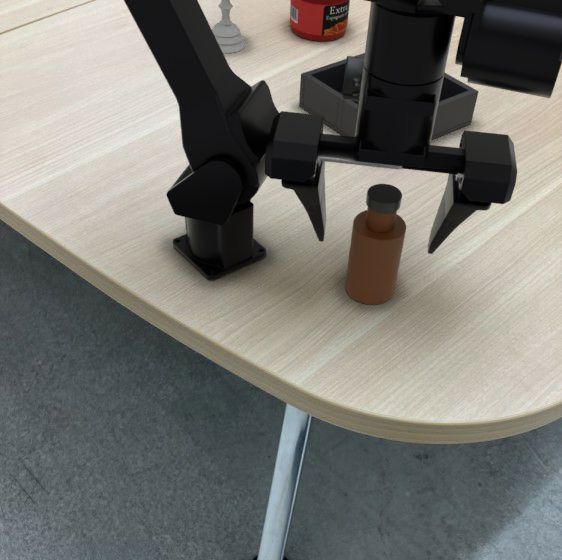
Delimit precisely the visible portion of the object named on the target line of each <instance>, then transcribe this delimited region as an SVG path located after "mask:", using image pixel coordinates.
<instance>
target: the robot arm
mask: <svg viewBox="0 0 562 560" xmlns="http://www.w3.org/2000/svg"><path fill="white" fill-rule="evenodd" d="M364 1H366V2H370V9H369V18H368V25H367V33H366V40H365V41H366V42H365V49H364V53H365V57H355V56H356V55H354V56H353V55H346V58H345V59H346V67H345V75H344V84H343V92H342V98H343V99H345V100H354V101H359V102H358V110H357V118H356V131H355V137H351V136H342V135H341V134H331V133H324V126H325V125H324V124H325V123H324V116H323V115H314V114H310V113H302V112H294V111H286V110H285V111H284V110H280V112H279V110H278V109H277V107H276V105H275V103H274V102H275V101H274V99H273V96H272V93H271V89H270V87H269V85H268V84H267V81H266V80H264V79H262V80H259V81H258V82H256V83H254V84H253V85H251V84H249V83H247V82H246V81H245V80H243V79H242V78H241V77H240V76H239V75H237V74H236V73H235V72H234V71H233V70H232V68H231V66H230V65H229V62H228V61H227V58H226V56H225V53H223V52H222V50H221V48H220V46H219V44H218V42H217V40H216V38H215V36H214V34H213V32H212V28H211V27H212V26H211V25H210V23H209V21H208V19H207V17H206V14H205V13H204V11H203V8H202V6H201V5H200V2H199V1H198V0H123V2H124V4H125V6H126V7H127V10H128V12H129V13H130V16H131V17H132V18H133V21H134V22H135V24H136V26H137V28H138V30H139V32H140V34H141V36H142V37H143V40H144V42H145V43H146V46H147V47H148V49H149V51H150V53H151V54H152V56H153V58H154V60H155V61H156V64H157V65H158V67H159V69H160V72H161V73H162V75H163V77H164V79H165V81H166V82H167V84H168V86H169V89H170V90H171V93H172V94H173V95H174V97H175V100H176V103H177V104H178V105H177V106H178V113H179V123H180V133H181V145H182V149H183V152H184V154H185V157H186V159H187V162H188V165H187V166H186V167H185V169H184V170H183V171H182V173H180V175H179V176H178V178H177V179H176V180H175V181H174V183H173V184H172V185H171V187H170V188H169V189H168V190H167V192H166V194H165V195H166V197H167V200H168V202H169V205H170V207H171V209H172V211H173V214H174V215H176V216H179V217H183V218H184V224H185V231H186V233H185V234H182V235H180V236H178V237H175V238H173V240H172V247H174V248H175V250H177V251H178V252H179V253H180V254H181V255H182V256H183V257H184V258H185V259H186V260H187V262H189V263H190V264H191V265H192V266H193V267H194V268H195V269H197V271H198V272H200V273H201V274H202V275H203V276H204V277H205V279H208V280H210V281H211V280H212V281H213V280H215V279H218V278H220V277H222V276H225V275H227V274H229V273H231V272H234V271H236V270H238V269H241V268H242V267H245V266H247V265H250V264H251V263H254V262H257V261H258V260H260V259H263V258H265V257H266V256H267V248H265V246H263V245H262V244H261V243H260V242H258V241H257V240H256V239H255V238H254V213H255V211H254V209H255V208H254V207H255V205H254V203H253V202H252V199H253V198H254V197H255V196H256V194H257V193H258V192H259V190H260V189H261V187H262V186H263V184H264V183H265V181H266V179H267V178H269V179H270V180H271V179H272V180H280V183H281V185H280V186H281V187H283V188H284V189H287V190H292V191H293V192H294V193H295V195H296V196H297V198H298V200H299V201H300V203H301V205H302V207H303V208H304V210H305V211H306V214H307V215H308V218H309V221H310V223H311V225H312V228H313V229H314V233H315V235H316V237H317V240H318V241H319V242H324V241H325V240H324V239H325V235H326V227H327V226H326V225H327V201H326V200H327V199H326V178H325V177H326V176H325V175H326V173H325V172H326V171H325V170H326V162H327V163H336V164H344V165H345V164H346V165H355V166H363V167H373V168H383V169H389V170H391V169H392V170H412V171H421V172H431V173H440V174H447V175H448V177H447V181H446V185H445V189H444V191H443V195H442V198H441V199H440V203H439V205H438V209H437V212H436V215H435V217H434V221H433V224H432V226H431V229H430V232H429V237H428V243H427V254H429V255H433V254H434V253H435V252H436V251H437V249H438V248H439V247H440V246H441V245H442V244H443V243H444V242H445V240H446V239H447V238H448V237H449V236H451V234H452V233H453V231H455V230H456V229H457V228H458V227H459V226H460V225H461V224H462V223H464V222H465V221H466V220H467V219H468V218H470V217H471V216H472V215H473V214H474V213H476V212H477V211H488V210H490V209H491V206H492V204H498V205H505V204H507V203H508V202H511V200H512V197H513V194H514V190H515V187H516V183H517V177H518V166H517V158H516V157H517V156H516V151H515V144H514V141H513V140H512V139H511V137H510V135H509V134H502V133H494V132H484V131H483V132H482V131H475V130H474V131H473V130H467V129H466V130H465V129H464V130H463V132H462V134H461V137H460V141H459V145H458V147H455V146H445V145H435V144H431V142H432V140H431V138H432V133H433V128H434V123H435V118H436V113H437V108H438V103H439V98H440V93H441V88H442V83H443V78H444V73H446V66H447V63H448V57H449V53H450V47H451V42H452V37H453V32H454V27H455V22H456V17H458V18H463V22H462V27H461V29H460V30H461V31H460V35H459V39H458V44H457V49H456V54H455V62H454V64H455V65H458V66H461V70H460V74H459V75H460V77H461V78H465V79H467V83H468V84H474V85H478V86H484V87H489V88H494V89H499V90H505V91H510V92H514V93H520V94H525V95H529V96H530V95H531V96H535V97H540V98H545V99H551V98H552V94H553V92H554V89H555V86H556V83H557V80H558V76H559V73H560V70H561V66H562V0H364Z"/></svg>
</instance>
